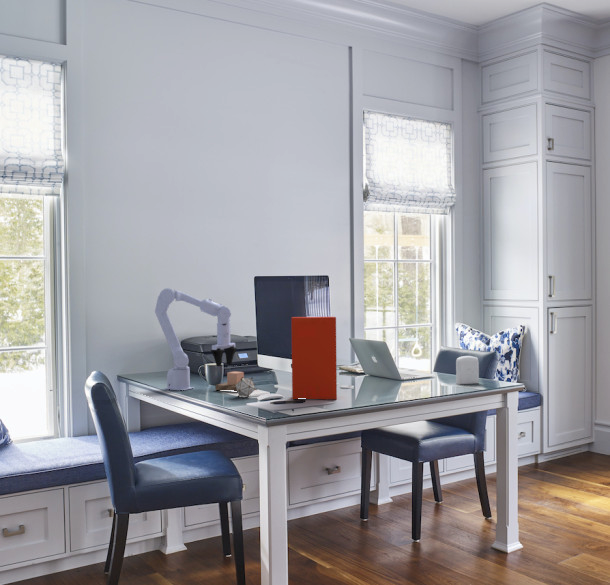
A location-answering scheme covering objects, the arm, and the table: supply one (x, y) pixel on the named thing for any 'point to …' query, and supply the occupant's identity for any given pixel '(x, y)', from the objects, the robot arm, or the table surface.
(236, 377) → the cube
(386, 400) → the table surface
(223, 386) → the plinth
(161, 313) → the robot arm
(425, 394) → the table surface
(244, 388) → the game die
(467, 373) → the grey smart speaker
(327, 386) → the file binder
